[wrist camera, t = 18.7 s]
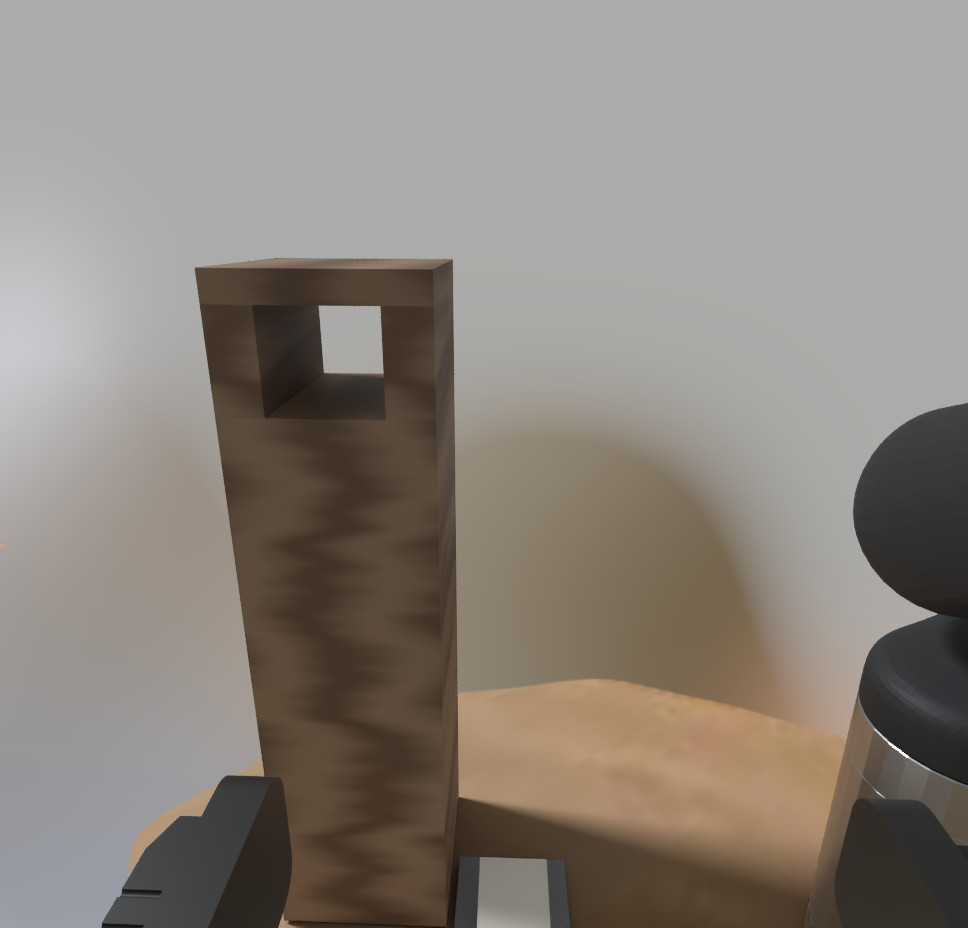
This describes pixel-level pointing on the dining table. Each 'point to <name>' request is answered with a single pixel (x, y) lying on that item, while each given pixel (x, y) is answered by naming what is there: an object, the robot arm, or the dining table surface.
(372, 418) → the socket tower
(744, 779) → the dining table surface
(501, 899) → the plug bar
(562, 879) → the mat
